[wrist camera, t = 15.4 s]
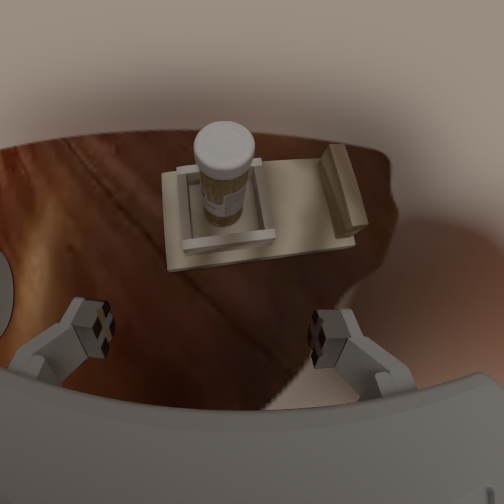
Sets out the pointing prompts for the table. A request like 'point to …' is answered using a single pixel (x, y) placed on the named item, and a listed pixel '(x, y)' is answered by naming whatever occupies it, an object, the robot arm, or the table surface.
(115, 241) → the table surface
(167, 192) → the caddy
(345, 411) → the robot arm
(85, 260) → the table surface
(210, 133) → the sprinkles bottle
